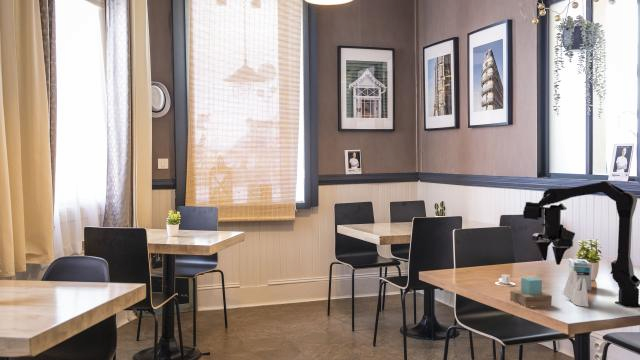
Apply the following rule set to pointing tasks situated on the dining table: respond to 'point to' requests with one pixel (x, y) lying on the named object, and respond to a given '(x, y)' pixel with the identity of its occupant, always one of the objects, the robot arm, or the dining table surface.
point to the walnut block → (530, 299)
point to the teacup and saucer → (505, 280)
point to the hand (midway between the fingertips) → (551, 262)
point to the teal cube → (531, 286)
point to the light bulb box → (581, 270)
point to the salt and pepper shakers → (576, 290)
